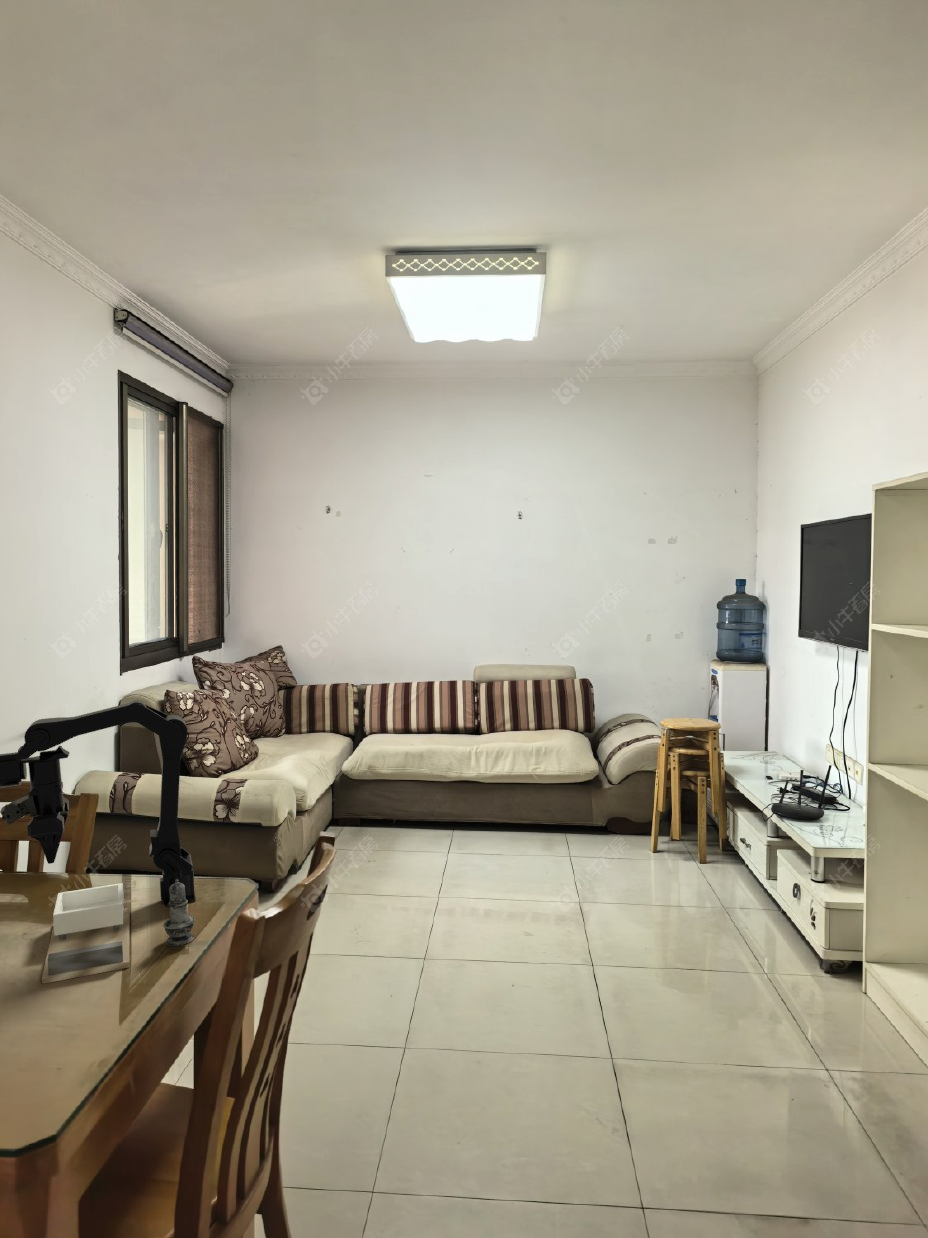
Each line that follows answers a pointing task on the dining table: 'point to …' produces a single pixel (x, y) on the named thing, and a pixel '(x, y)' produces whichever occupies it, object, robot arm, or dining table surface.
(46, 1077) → the dining table surface
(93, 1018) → the dining table surface
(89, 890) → the white tray
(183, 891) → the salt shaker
